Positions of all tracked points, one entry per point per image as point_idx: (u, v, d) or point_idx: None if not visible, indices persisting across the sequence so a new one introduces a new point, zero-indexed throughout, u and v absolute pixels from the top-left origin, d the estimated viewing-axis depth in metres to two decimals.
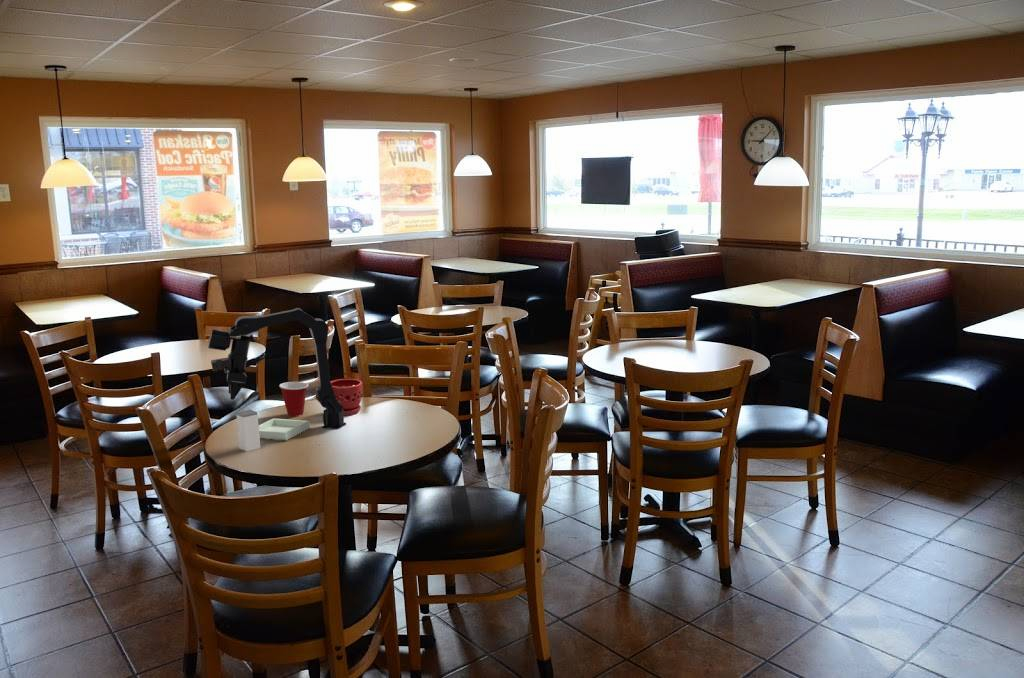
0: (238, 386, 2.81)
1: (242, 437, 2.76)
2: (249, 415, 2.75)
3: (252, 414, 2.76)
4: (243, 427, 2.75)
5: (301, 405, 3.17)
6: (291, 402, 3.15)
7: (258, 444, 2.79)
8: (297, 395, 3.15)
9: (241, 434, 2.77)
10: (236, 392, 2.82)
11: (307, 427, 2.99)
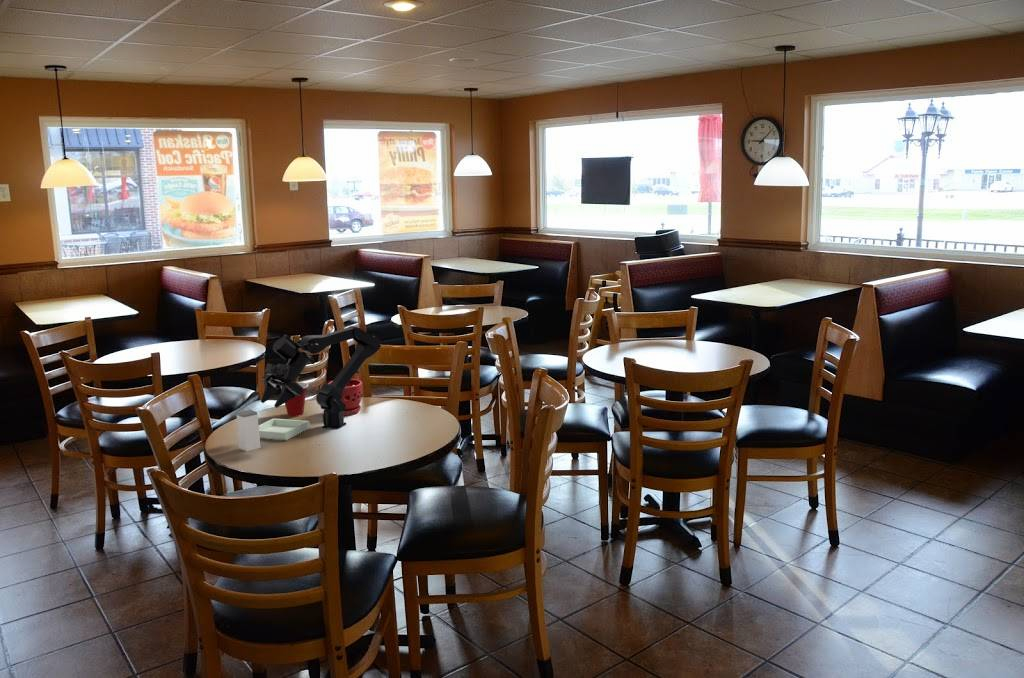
0: (288, 396, 2.81)
1: (242, 437, 2.76)
2: (249, 415, 2.75)
3: (252, 414, 2.76)
4: (243, 427, 2.75)
5: (301, 405, 3.17)
6: (291, 402, 3.15)
7: (258, 444, 2.79)
8: (297, 395, 3.15)
9: (241, 434, 2.77)
10: (283, 401, 2.80)
11: (307, 427, 2.99)
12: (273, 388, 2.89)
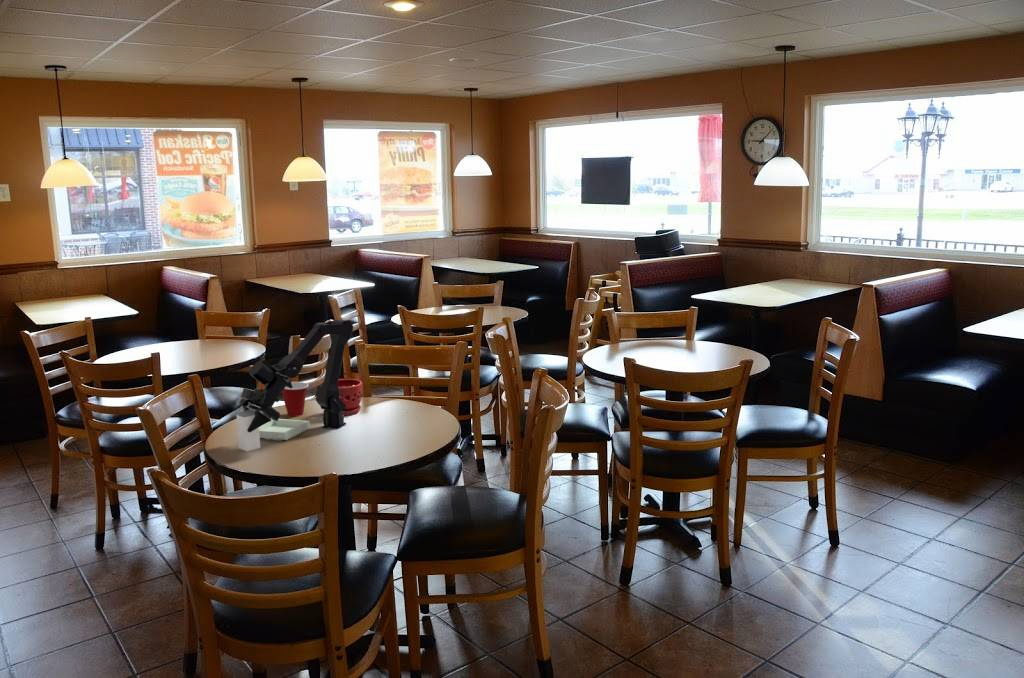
0: (262, 421, 2.77)
1: (242, 437, 2.76)
2: (249, 415, 2.75)
3: (252, 414, 2.76)
4: (243, 427, 2.75)
5: (301, 405, 3.17)
6: (291, 402, 3.15)
7: (258, 444, 2.79)
8: (297, 395, 3.15)
9: (241, 434, 2.77)
10: (256, 426, 2.76)
11: (307, 427, 2.99)
12: None
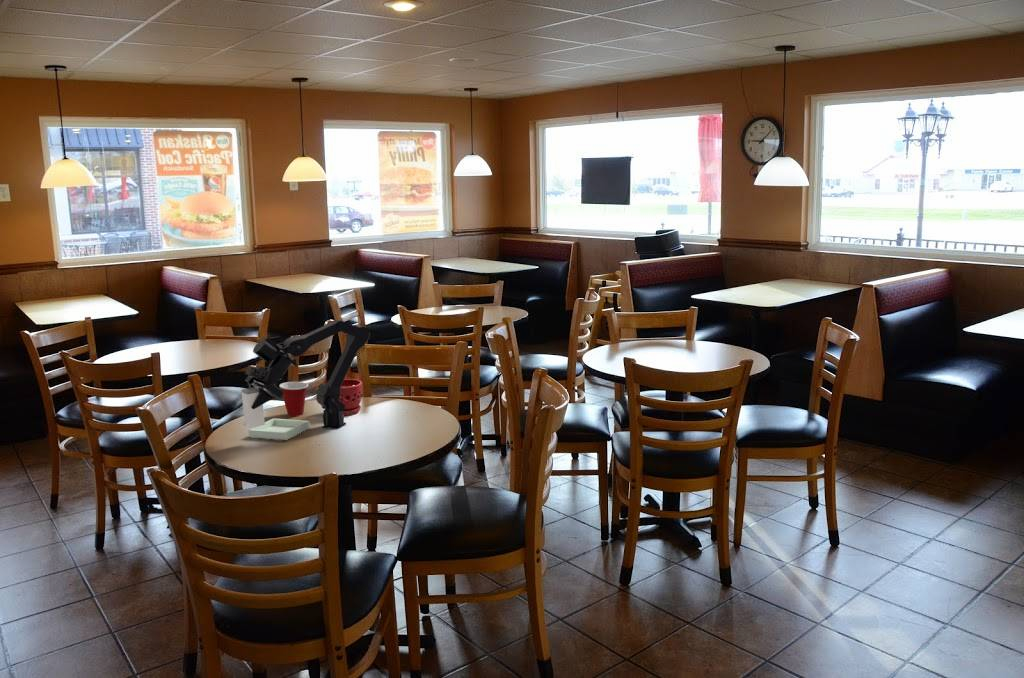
0: (265, 398, 2.81)
1: (247, 413, 2.81)
2: (253, 392, 2.79)
3: (256, 391, 2.80)
4: (247, 404, 2.79)
5: (301, 405, 3.17)
6: (291, 402, 3.15)
7: (262, 421, 2.83)
8: (297, 396, 3.15)
9: (246, 411, 2.81)
10: (260, 403, 2.80)
11: (307, 427, 2.99)
12: None
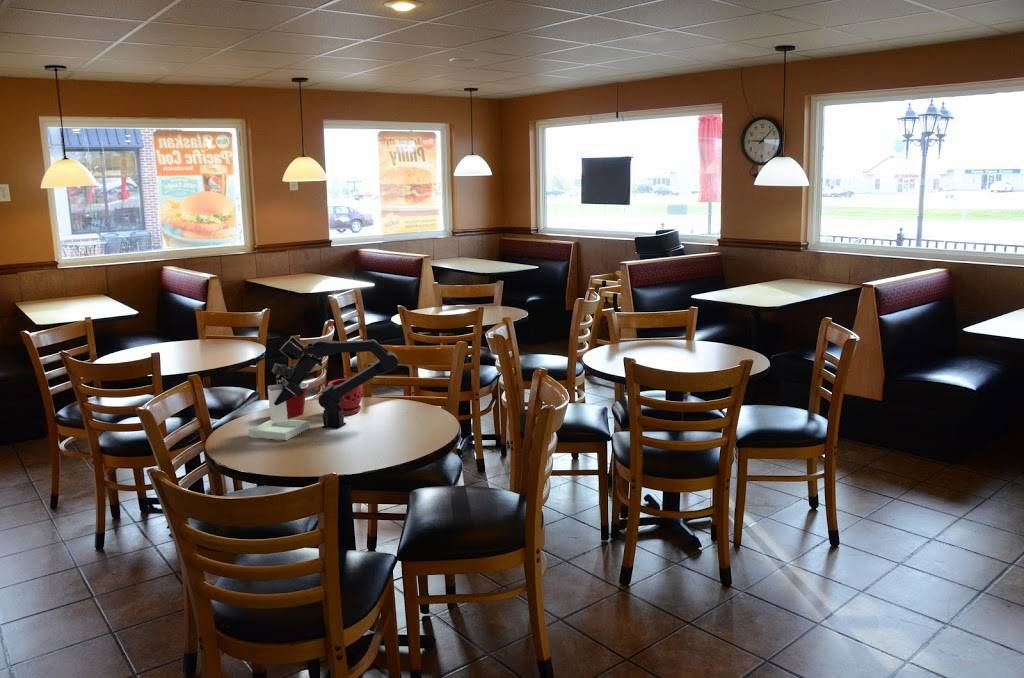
0: (287, 396, 2.91)
1: (271, 409, 2.92)
2: (276, 389, 2.90)
3: (279, 388, 2.91)
4: (270, 400, 2.91)
5: (301, 405, 3.17)
6: (291, 402, 3.15)
7: (285, 417, 2.93)
8: None
9: (270, 406, 2.93)
10: (283, 400, 2.91)
11: (307, 427, 2.99)
12: None
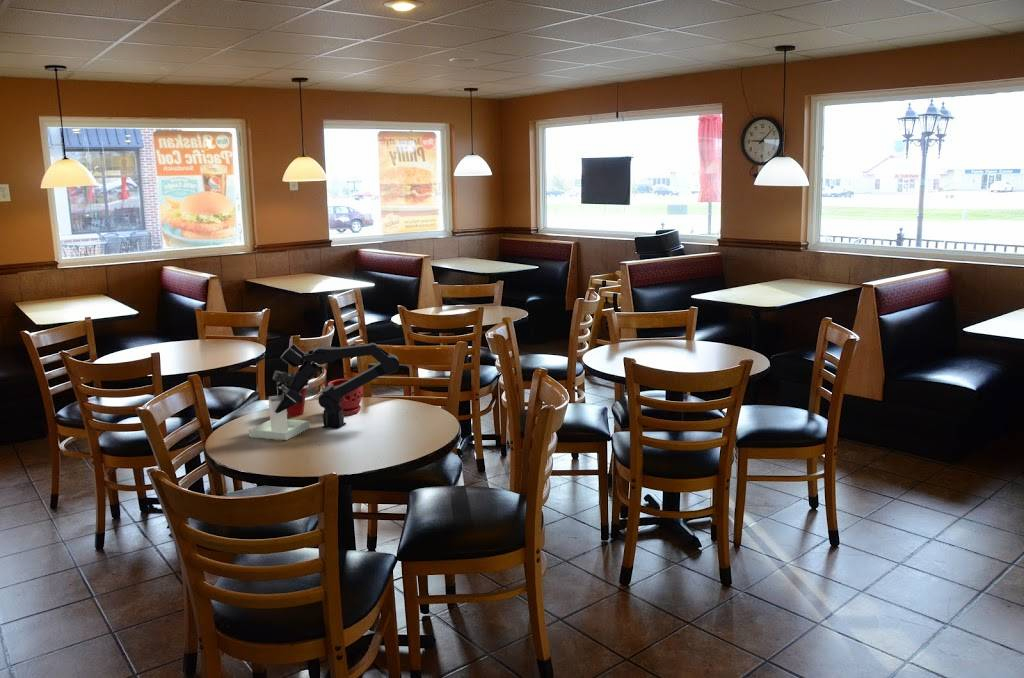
0: (289, 403, 2.91)
1: (271, 420, 2.93)
2: (277, 400, 2.91)
3: (280, 399, 2.92)
4: (271, 411, 2.92)
5: (301, 405, 3.17)
6: None
7: (286, 428, 2.94)
8: None
9: (271, 417, 2.94)
10: (284, 408, 2.90)
11: (307, 427, 2.99)
12: None
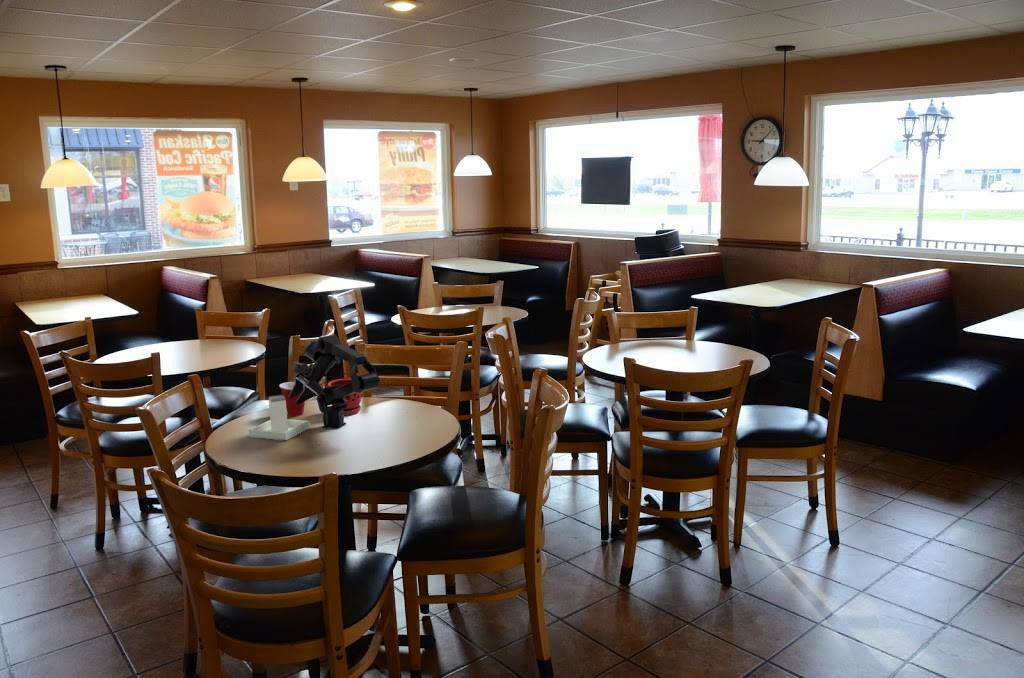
0: (309, 395, 2.92)
1: (271, 420, 2.93)
2: (277, 400, 2.91)
3: (280, 399, 2.92)
4: (271, 411, 2.91)
5: (301, 405, 3.17)
6: (291, 402, 3.15)
7: (286, 428, 2.94)
8: (297, 396, 3.15)
9: (271, 417, 2.94)
10: (304, 399, 2.92)
11: (307, 427, 2.99)
12: (302, 385, 3.02)
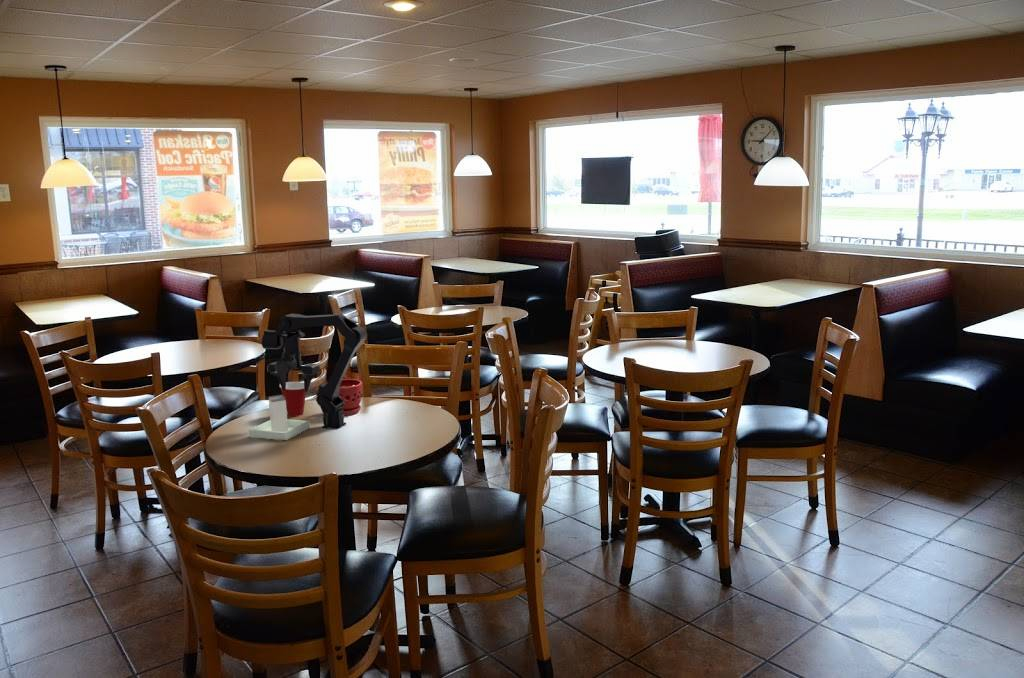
0: (310, 377, 3.01)
1: (271, 420, 2.93)
2: (277, 400, 2.91)
3: (280, 399, 2.92)
4: (271, 411, 2.91)
5: (301, 405, 3.17)
6: (291, 402, 3.15)
7: (286, 428, 2.94)
8: (297, 395, 3.15)
9: (271, 417, 2.94)
10: (309, 383, 3.01)
11: (307, 427, 2.99)
12: (283, 373, 3.04)
